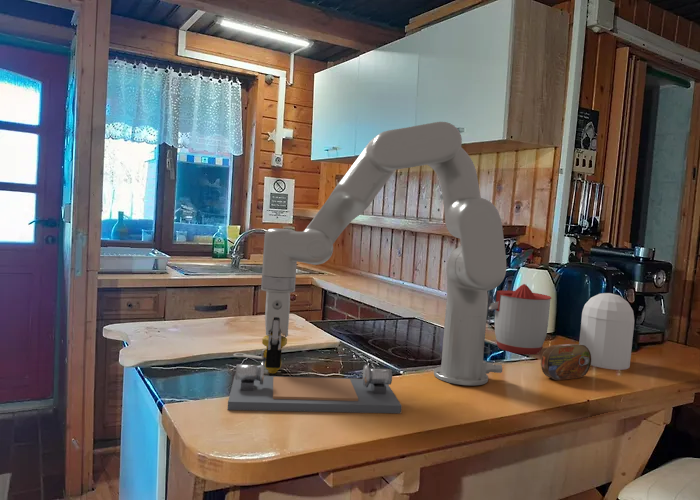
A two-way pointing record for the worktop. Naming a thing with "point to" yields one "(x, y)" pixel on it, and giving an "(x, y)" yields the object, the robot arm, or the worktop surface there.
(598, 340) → the container
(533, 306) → the citrus juicer
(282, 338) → the pressure relief valve
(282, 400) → the pipe rig base
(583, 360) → the tin
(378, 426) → the worktop surface
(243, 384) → the pipe stubs
